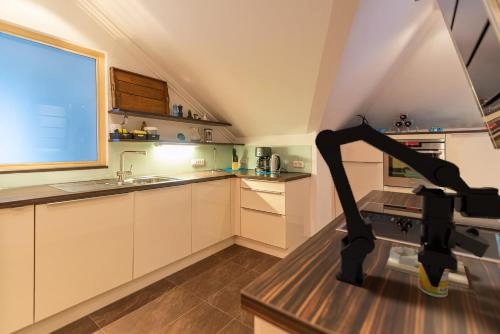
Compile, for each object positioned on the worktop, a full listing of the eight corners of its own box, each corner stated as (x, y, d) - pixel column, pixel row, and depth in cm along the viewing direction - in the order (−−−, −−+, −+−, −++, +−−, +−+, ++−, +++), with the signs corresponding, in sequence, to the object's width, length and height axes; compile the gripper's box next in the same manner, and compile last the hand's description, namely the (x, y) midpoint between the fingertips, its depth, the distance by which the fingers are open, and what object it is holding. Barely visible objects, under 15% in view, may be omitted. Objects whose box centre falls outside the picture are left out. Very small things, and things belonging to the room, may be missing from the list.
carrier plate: (468, 289, 56) (468, 284, 56) (386, 267, 66) (386, 264, 66) (462, 265, 67) (462, 262, 67) (392, 250, 77) (392, 247, 77)
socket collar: (425, 269, 63) (426, 262, 62) (388, 261, 68) (388, 254, 68) (426, 258, 69) (426, 251, 69) (392, 250, 75) (392, 244, 75)
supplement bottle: (419, 281, 59) (420, 244, 58) (447, 289, 55) (449, 249, 55) (417, 292, 55) (419, 251, 54) (447, 301, 51) (449, 258, 51)
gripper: (496, 234, 41) (491, 318, 42) (479, 211, 56) (475, 274, 57) (418, 223, 48) (416, 296, 49) (421, 205, 63) (419, 261, 64)
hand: (434, 280), depth 55 cm, fingers closed on supplement bottle, 5 cm apart
